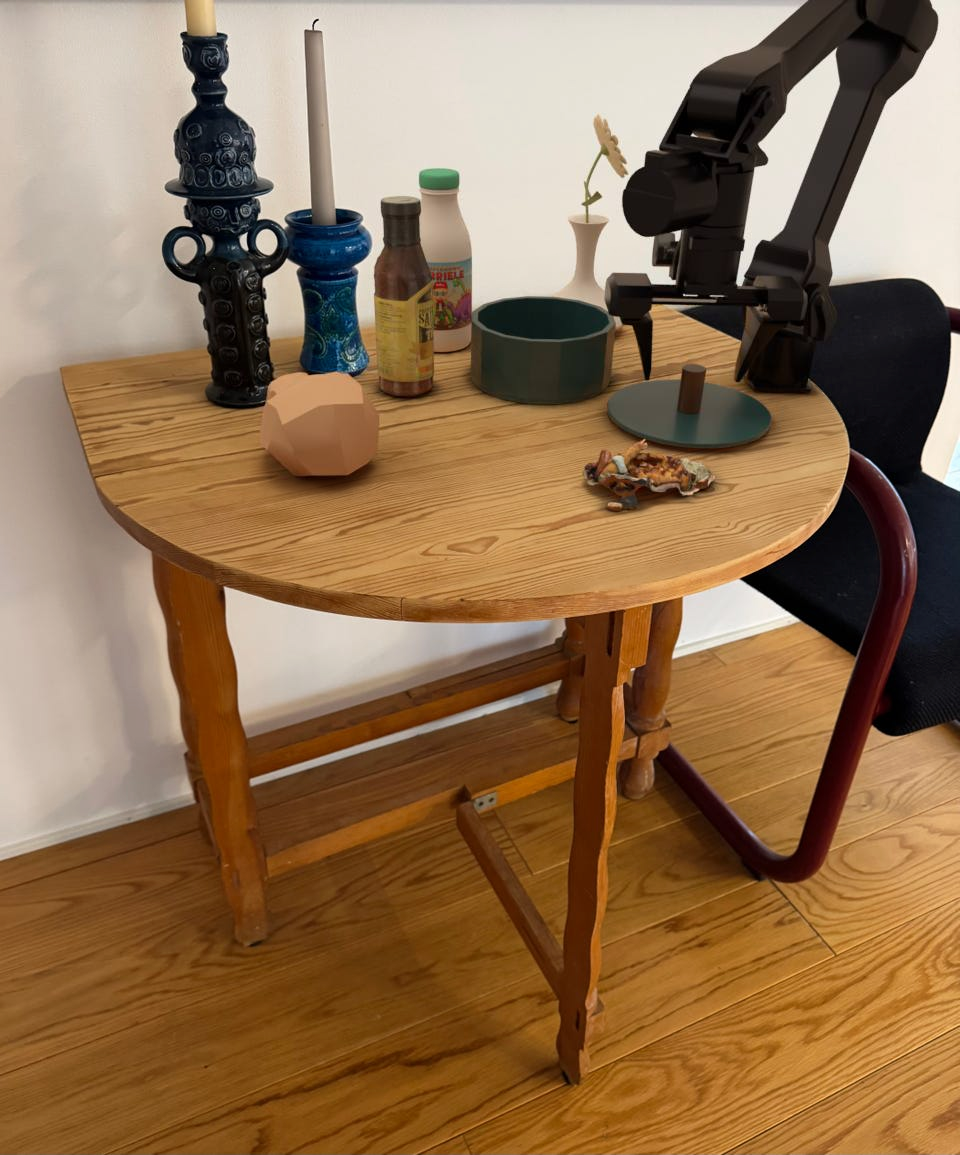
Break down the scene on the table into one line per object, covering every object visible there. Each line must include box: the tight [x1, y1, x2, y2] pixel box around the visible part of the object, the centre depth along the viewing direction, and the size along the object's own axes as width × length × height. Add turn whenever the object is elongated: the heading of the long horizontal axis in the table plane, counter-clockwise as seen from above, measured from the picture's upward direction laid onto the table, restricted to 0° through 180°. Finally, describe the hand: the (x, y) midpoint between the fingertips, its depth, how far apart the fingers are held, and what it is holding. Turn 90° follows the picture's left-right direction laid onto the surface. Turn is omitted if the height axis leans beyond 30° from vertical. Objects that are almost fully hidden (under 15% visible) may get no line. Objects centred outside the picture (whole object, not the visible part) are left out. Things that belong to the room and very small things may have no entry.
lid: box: [606, 363, 772, 449], centre depth 98 cm, size 17×17×6 cm
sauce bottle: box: [373, 195, 435, 397], centre depth 100 cm, size 6×6×20 cm
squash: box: [257, 371, 380, 477], centre depth 90 cm, size 11×20×9 cm, turn 24°
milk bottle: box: [418, 167, 473, 353], centre depth 112 cm, size 8×8×20 cm
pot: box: [470, 295, 616, 405], centre depth 107 cm, size 16×16×7 cm
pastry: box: [581, 438, 716, 512], centre depth 86 cm, size 7×12×4 cm, turn 114°
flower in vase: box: [551, 113, 629, 332], centre depth 117 cm, size 13×11×25 cm
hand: (691, 380), depth 97 cm, fingers open, 9 cm apart
